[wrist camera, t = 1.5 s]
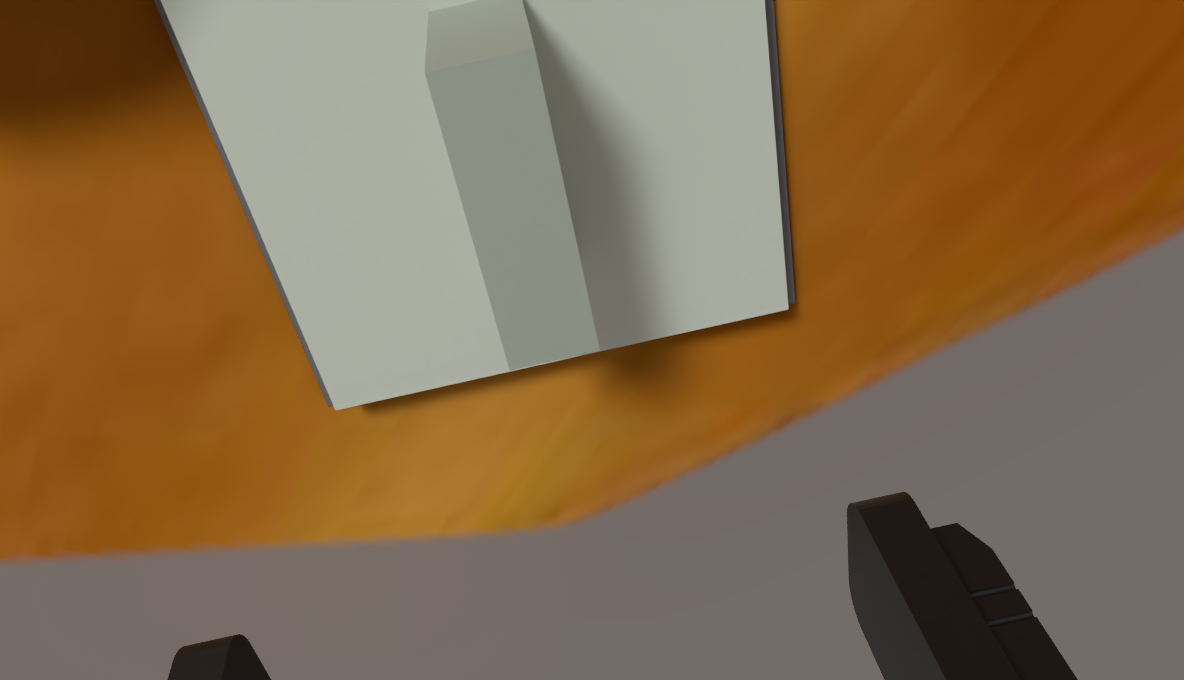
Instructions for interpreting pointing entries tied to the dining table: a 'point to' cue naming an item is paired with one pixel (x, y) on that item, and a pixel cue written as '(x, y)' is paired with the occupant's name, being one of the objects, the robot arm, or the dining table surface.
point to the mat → (785, 227)
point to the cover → (496, 174)
